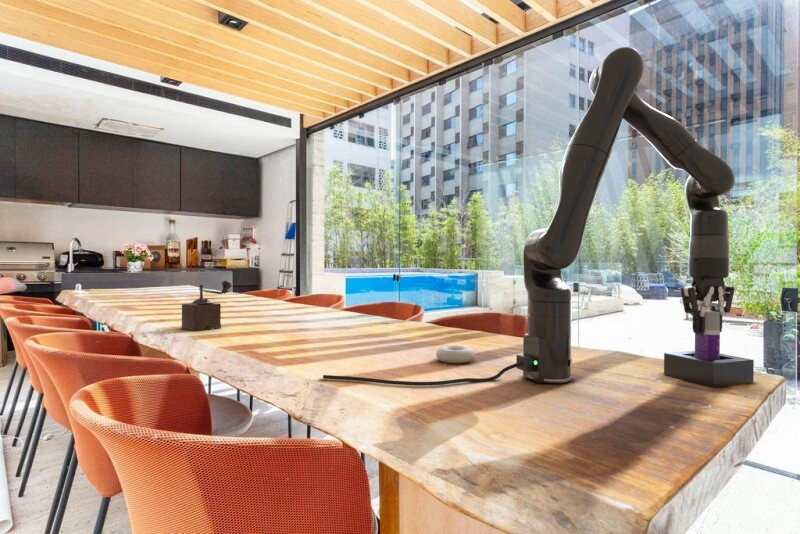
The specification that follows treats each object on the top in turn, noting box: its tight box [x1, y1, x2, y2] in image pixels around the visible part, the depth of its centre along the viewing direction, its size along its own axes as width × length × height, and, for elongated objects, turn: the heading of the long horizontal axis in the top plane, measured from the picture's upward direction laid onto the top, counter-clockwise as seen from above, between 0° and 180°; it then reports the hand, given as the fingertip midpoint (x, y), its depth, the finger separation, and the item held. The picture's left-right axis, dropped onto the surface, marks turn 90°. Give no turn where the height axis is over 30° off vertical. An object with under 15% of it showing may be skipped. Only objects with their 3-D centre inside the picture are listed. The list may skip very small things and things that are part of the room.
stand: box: [663, 350, 755, 388], centre depth 107 cm, size 12×12×5 cm
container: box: [694, 310, 721, 361], centre depth 107 cm, size 5×5×15 cm
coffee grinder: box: [181, 279, 233, 332], centre depth 182 cm, size 16×11×18 cm
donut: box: [435, 345, 475, 364], centre depth 124 cm, size 10×4×10 cm
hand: (707, 332), depth 106 cm, fingers closed on container, 4 cm apart
